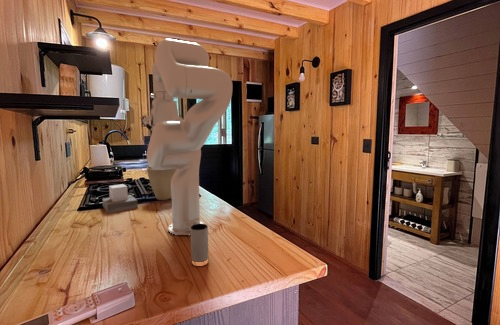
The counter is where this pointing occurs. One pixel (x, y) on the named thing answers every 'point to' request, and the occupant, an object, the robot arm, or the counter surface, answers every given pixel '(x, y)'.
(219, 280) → the counter surface
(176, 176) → the robot arm
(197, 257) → the grey cylinder
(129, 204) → the charcoal block
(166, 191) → the plant pot
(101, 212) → the counter surface
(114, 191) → the white cube
